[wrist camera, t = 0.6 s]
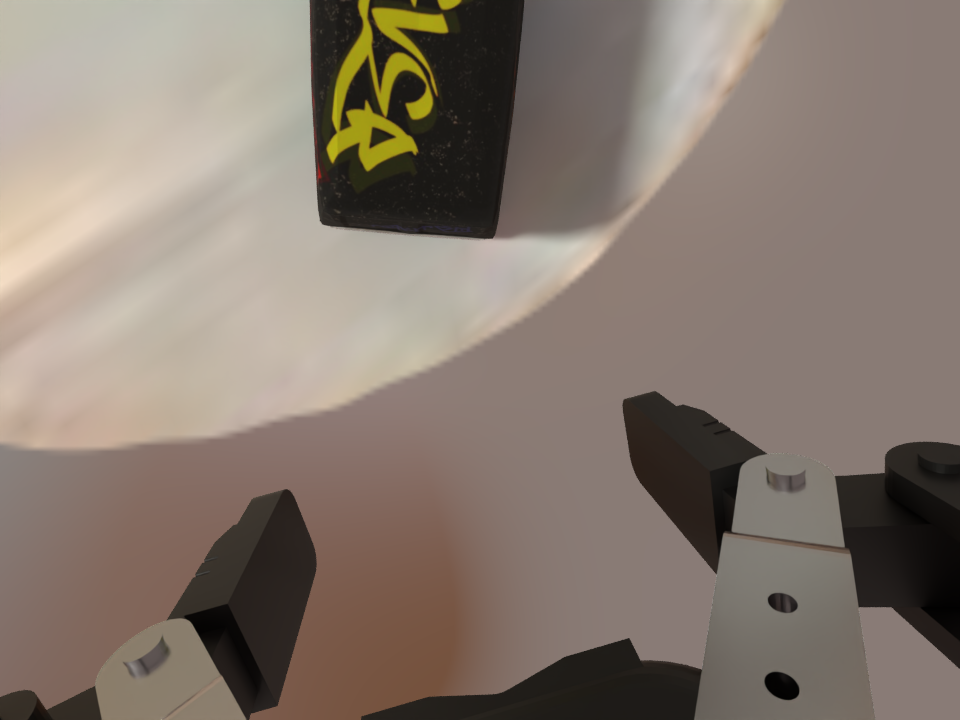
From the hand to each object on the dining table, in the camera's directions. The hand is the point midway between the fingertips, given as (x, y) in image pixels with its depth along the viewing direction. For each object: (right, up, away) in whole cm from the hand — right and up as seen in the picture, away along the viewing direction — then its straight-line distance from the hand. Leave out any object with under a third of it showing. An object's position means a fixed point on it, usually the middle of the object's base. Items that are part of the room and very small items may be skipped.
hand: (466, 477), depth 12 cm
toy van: (-3, +23, +18) cm, 30 cm away
